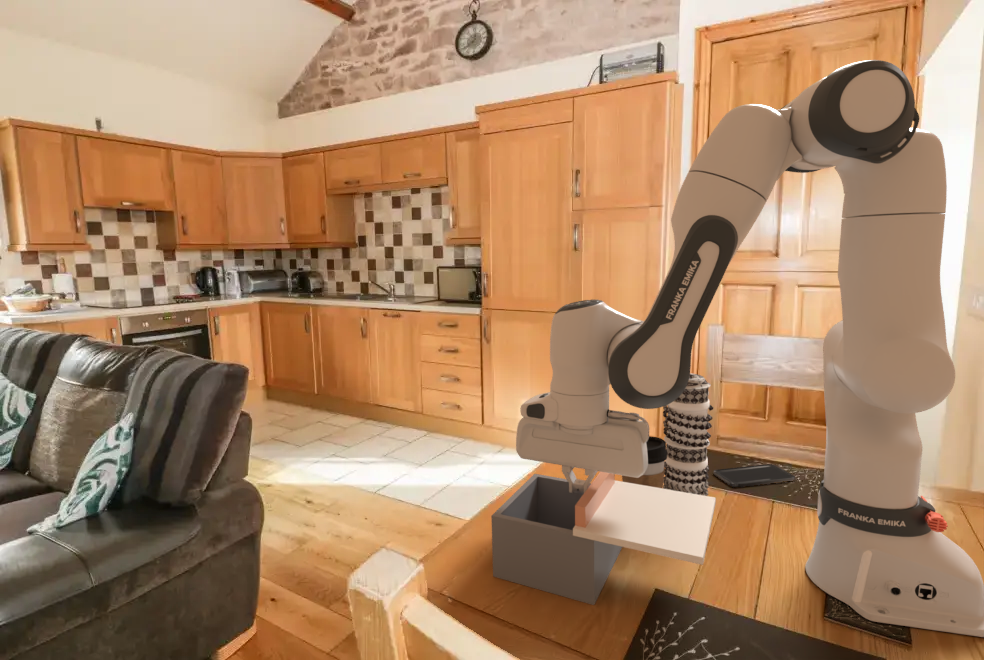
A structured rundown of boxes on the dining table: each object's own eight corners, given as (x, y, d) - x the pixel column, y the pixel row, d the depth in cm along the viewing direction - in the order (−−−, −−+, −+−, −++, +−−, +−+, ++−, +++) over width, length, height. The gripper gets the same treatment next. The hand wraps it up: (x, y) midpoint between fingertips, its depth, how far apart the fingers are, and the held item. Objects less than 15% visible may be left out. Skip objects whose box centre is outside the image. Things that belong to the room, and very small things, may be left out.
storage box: (623, 545, 90) (623, 489, 88) (594, 605, 75) (594, 538, 73) (535, 525, 97) (534, 473, 96) (493, 576, 82) (491, 515, 81)
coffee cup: (668, 532, 94) (670, 450, 91) (619, 528, 95) (619, 448, 93) (663, 509, 102) (664, 434, 100) (618, 506, 103) (618, 432, 101)
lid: (715, 503, 82) (716, 479, 82) (702, 565, 66) (703, 535, 66) (607, 484, 90) (607, 462, 89) (572, 535, 74) (572, 508, 74)
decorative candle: (673, 483, 113) (676, 368, 109) (717, 496, 106) (721, 374, 103) (652, 498, 106) (654, 376, 103) (697, 513, 100) (701, 383, 96)
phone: (711, 470, 117) (772, 463, 120) (711, 475, 117) (772, 468, 120) (733, 485, 110) (797, 477, 112) (733, 490, 110) (797, 482, 112)
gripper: (653, 408, 79) (652, 496, 81) (527, 395, 88) (528, 474, 90) (645, 421, 73) (643, 515, 75) (510, 405, 82) (512, 489, 84)
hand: (579, 492), depth 83 cm, fingers closed
